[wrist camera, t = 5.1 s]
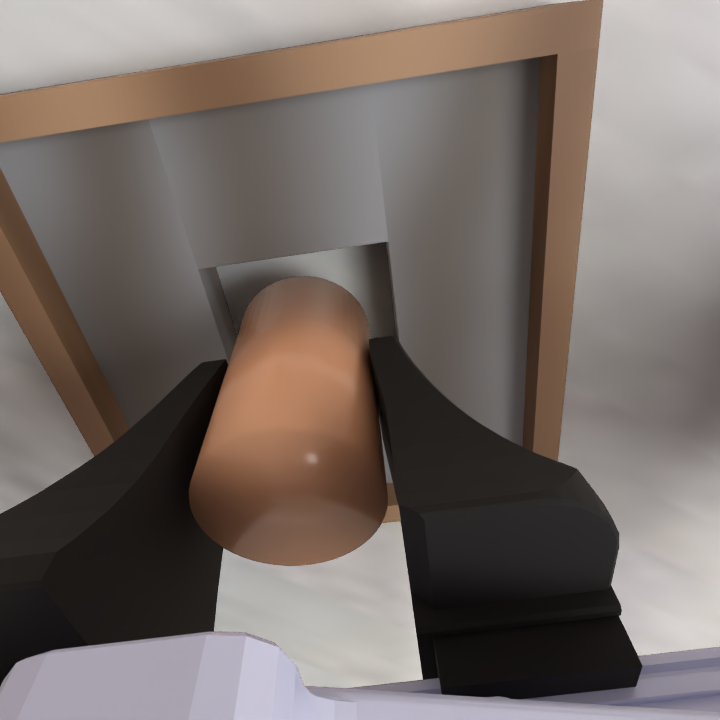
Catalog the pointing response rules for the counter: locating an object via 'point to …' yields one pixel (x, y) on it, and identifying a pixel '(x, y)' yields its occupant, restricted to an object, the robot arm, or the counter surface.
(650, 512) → the counter surface
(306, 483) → the peg
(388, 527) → the counter surface
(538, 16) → the box
